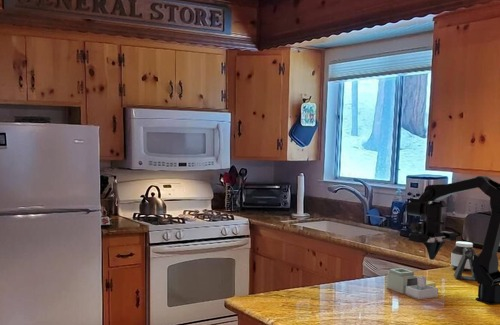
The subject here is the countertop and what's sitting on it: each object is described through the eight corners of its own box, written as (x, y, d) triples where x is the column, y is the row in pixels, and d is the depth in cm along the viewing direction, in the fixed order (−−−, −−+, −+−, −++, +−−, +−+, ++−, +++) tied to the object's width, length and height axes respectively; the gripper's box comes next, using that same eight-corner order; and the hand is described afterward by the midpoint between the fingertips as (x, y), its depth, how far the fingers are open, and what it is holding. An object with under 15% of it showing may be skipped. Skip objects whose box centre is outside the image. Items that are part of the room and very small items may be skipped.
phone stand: (455, 279, 201) (457, 249, 201) (453, 275, 207) (455, 246, 207) (480, 281, 199) (481, 251, 199) (477, 277, 205) (478, 248, 204)
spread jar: (461, 272, 214) (462, 244, 214) (441, 266, 224) (442, 240, 224) (482, 270, 219) (483, 243, 219) (461, 264, 229) (462, 239, 229)
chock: (435, 290, 184) (435, 282, 184) (425, 293, 180) (425, 284, 180) (423, 287, 188) (423, 279, 188) (413, 289, 184) (413, 281, 184)
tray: (437, 297, 174) (438, 288, 174) (418, 299, 171) (418, 290, 170) (424, 292, 180) (425, 284, 180) (405, 294, 176) (405, 286, 176)
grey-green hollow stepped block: (420, 291, 181) (421, 272, 181) (402, 293, 177) (403, 273, 177) (404, 285, 188) (405, 267, 188) (386, 287, 184) (387, 268, 184)
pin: (427, 294, 174) (428, 277, 174) (420, 295, 173) (420, 278, 173) (422, 292, 177) (422, 275, 177) (415, 293, 176) (415, 276, 176)
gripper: (435, 214, 199) (433, 253, 200) (399, 215, 191) (397, 256, 192) (458, 218, 189) (456, 259, 190) (420, 220, 181) (419, 263, 182)
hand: (431, 259), depth 188 cm, fingers closed
